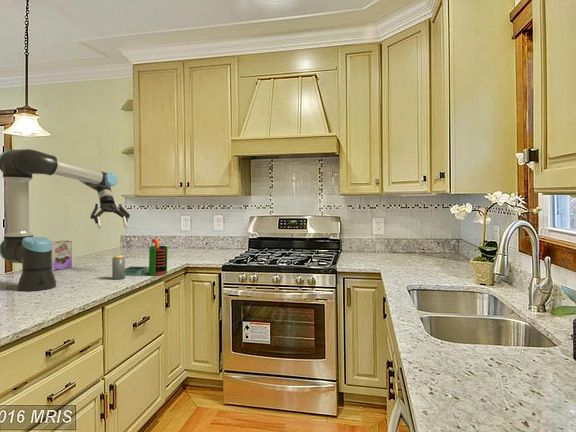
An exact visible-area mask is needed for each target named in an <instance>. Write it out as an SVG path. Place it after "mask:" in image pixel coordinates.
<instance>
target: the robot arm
mask: <svg viewBox="0 0 576 432" xmlns="http://www.w3.org/2000/svg"><path fill="white" fill-rule="evenodd" d="M0 172H2V178H3V179H4V181H6V202H7V203H6V205H7V206H6V210H7V231H6V232H5V234H4V235H3V240H2V242H1V243H0V257H1V258H2V259H3V260H4V261H7V262H10V263H14V264H21V268H22V269H21V270H22V271H21V275H20V277H19V280H18V283H17V290H18V291H22V292H34V291H35V292H36V291H37V292H38V291H45V290H49V289H50V290H51V289H53V288H56V287H57V280H56V277H55V275H54V272H53V271H52V242H53V241H52V240H51V239H50V238H48V237H42V236H34V233H32V232H31V231H30V190H29V189H30V184H29V183H30V182H31V180H33V175H46V176H53V175H56V176H60V177H64V178H69V179H73V180H77V181H79V182H81V183H82V184H83V185H85V186H87V187H89V188H90V189H92V190H94V191H96V192H97V197H98V200H99V204H98V203H95V206H94V209H93V210H92V212H91V214H90V219H91V220H94V223H95V224H96V225H97V228H98V229H97V230H100V229H101V228H102V227H101V226H102V225H101V221H100V217H101V216H102V215H103V214H104V213H113V214H116V215H118V217H121V218H122V222H123V226H124V229H127V227H128V221H129V220H128V219H130V216H131V214H130V213H129V212H128V211H127V210H126V209H125V208H124V207H123V206H122V204H121V203H119V204H116V203H115V199H114V196H113V195H114V194H113V191H112V187H114V186H116V185H117V184H118V177H117V175H116V174H115V173H113V172H105V171H101V170H98V169H94V168H91V167H88V166H87V167H86V166H83V165H80V164H76V163H72V162H68V161H65V160H62V159H58V158H57V156H54V155H53V154H49V153H45V152H42V151H39V150H36V149H30V148H29V149H28V148H25V149H24V148H23V149H21V148H20V149H8V150H6V151H3V152H2V153H0ZM99 209H100V210H99ZM98 210H99V211H98Z"/></svg>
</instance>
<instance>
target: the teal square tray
mask: <svg viewBox="0 0 576 432" xmlns="http://www.w3.org/2000/svg"><path fill="white" fill-rule="evenodd" d="M146 275H149V266H128V267H125V276H126V277H127V276H128V277H129V276H130V277H131V276H132V277H133V276H134V277H142V276H146Z"/></svg>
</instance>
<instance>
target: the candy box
mask: <svg viewBox="0 0 576 432" xmlns="http://www.w3.org/2000/svg"><path fill="white" fill-rule="evenodd" d="M51 242H52V272H53V271H60V270H65V269H70V268H71V269H72V267H73V266H72V265H73V263H72V257H73V253H72V249H73V247H72V246H73V245H72V244H73V242H72V240H55V241H51Z"/></svg>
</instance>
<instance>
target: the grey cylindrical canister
mask: <svg viewBox="0 0 576 432" xmlns="http://www.w3.org/2000/svg"><path fill="white" fill-rule="evenodd" d="M111 259H112V261H111V262H112V265H111V268H112V269H111V271H112V272H111V280H113V281H121V280H125V279H126V277H125V268H126V266H125V262H126V259H125V257H124V255H123V254H121V255H119V254H117V255H114V256H113V257H112V258H111Z"/></svg>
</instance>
